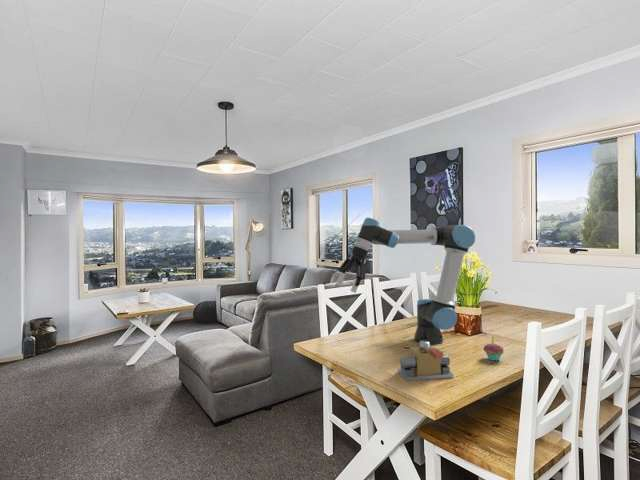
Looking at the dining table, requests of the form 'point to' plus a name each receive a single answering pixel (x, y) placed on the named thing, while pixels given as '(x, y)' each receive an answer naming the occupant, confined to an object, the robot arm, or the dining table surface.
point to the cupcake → (493, 350)
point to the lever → (431, 350)
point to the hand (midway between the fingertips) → (345, 288)
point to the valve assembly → (424, 366)
